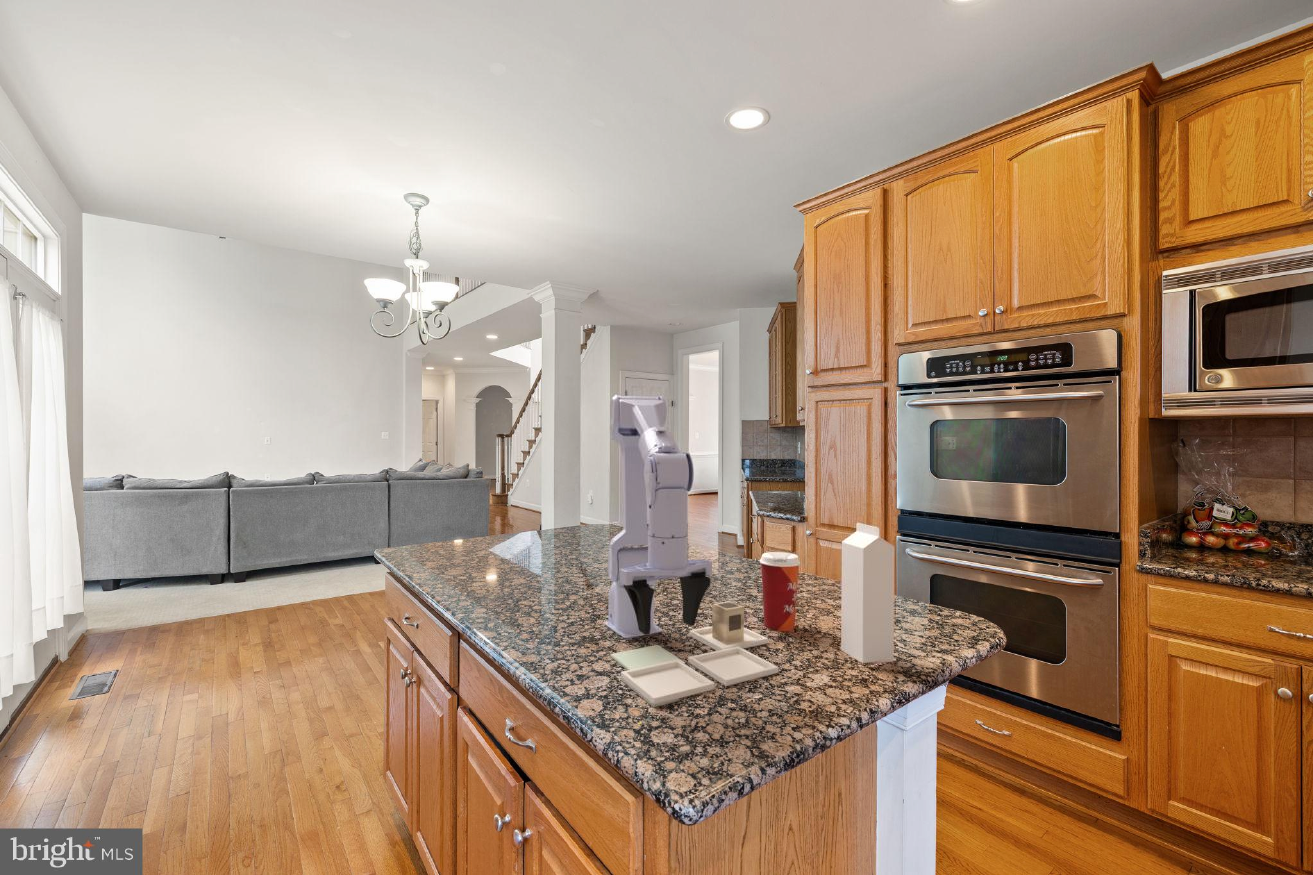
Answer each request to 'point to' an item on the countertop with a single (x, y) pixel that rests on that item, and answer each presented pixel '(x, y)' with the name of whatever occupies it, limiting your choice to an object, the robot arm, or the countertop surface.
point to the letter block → (728, 622)
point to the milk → (867, 596)
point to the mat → (643, 657)
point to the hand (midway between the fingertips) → (667, 628)
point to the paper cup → (779, 589)
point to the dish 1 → (666, 682)
